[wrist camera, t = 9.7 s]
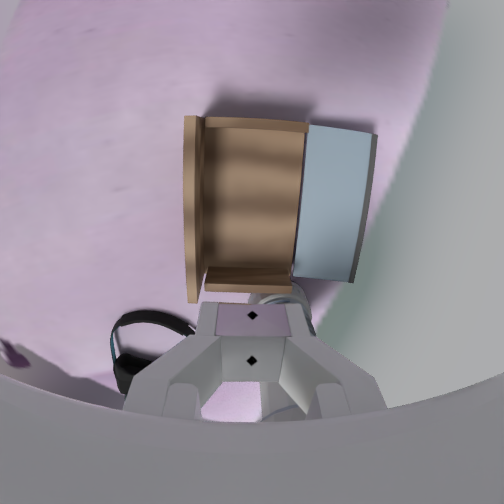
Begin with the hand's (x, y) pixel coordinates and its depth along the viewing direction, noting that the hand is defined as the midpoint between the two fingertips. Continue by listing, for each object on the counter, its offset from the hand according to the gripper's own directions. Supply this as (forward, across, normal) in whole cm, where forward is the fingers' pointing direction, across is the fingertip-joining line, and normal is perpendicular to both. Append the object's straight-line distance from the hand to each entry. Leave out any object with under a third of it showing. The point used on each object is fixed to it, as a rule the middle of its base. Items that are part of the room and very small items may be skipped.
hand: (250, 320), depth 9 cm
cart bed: (+34, -1, +4) cm, 34 cm away
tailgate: (+31, -8, +4) cm, 32 cm away
